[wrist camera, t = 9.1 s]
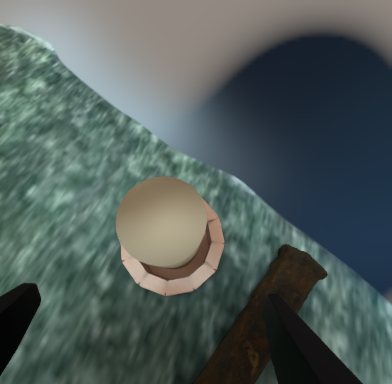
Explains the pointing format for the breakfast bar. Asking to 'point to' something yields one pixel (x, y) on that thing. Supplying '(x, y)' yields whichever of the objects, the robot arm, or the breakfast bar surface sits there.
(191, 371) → the breakfast bar surface
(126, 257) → the terracotta cup
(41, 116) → the breakfast bar surface
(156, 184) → the birch peg
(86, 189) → the breakfast bar surface
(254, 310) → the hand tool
